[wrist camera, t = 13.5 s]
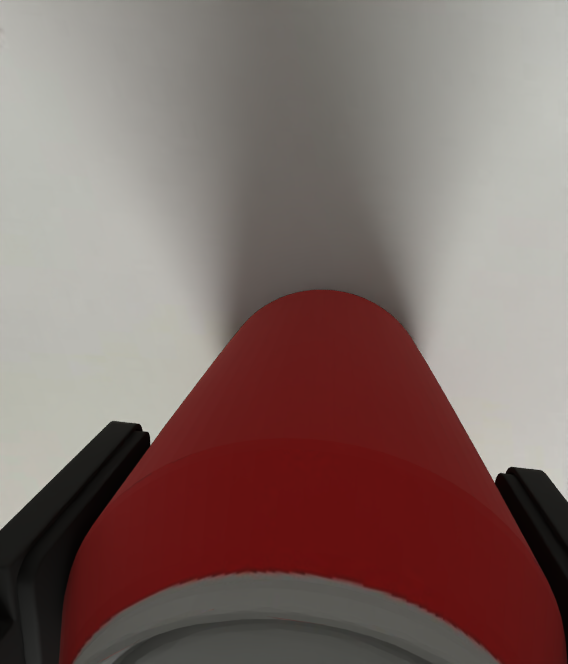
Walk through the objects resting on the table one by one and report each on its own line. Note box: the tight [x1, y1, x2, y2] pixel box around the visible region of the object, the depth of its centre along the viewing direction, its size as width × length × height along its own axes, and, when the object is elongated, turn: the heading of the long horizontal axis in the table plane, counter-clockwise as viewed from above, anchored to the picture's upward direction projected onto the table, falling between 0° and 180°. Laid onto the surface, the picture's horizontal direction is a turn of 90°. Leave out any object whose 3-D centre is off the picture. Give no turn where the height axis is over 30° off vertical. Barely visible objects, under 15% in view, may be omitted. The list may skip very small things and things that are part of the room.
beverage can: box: [59, 290, 567, 664], centre depth 10 cm, size 7×7×12 cm
